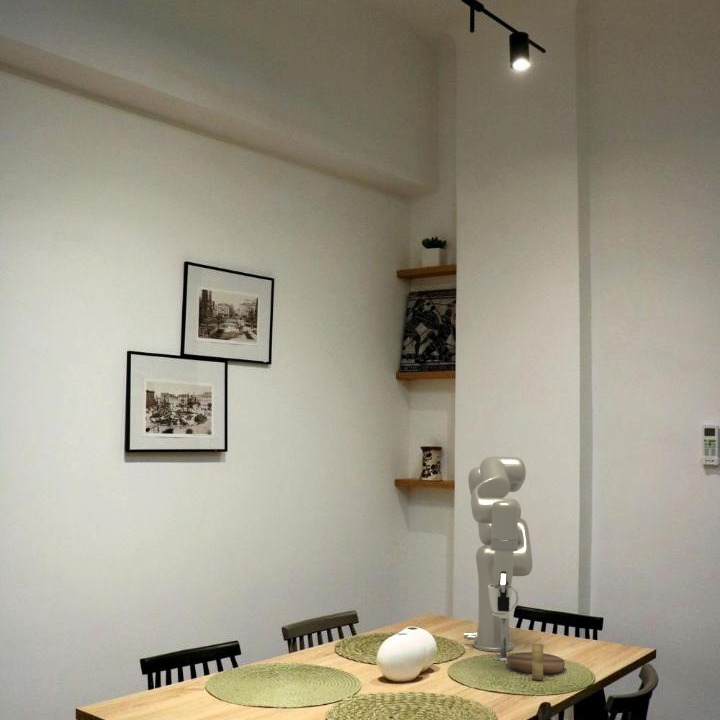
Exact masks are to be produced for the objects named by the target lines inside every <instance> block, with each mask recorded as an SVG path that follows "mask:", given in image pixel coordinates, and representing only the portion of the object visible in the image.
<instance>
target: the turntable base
mask: <svg viewBox="0 0 720 720" xmlns="http://www.w3.org/2000/svg"><path fill="white" fill-rule="evenodd" d="M505 668H506V670H508V669H509V670H508V671H510V670H511V671H510V672H512V671H513V672H512V673H514V672H516V673H515V674H518V673H519V674H518V675H522V674H525V675H524V676H528V675H532V674H531V673H524V672H520V671H516V670H513V669H511V668H509V667H508V665H507V662H505ZM565 671H566V672H567V667H565V668H564V671H562V672H560V673H555V674H543V676H549V677H555V676H554V675H558V676H560V675H559V674H562V673H564V672H565ZM566 672H565V673H566ZM565 673H564V674H565ZM562 675H563V674H562Z"/></svg>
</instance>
